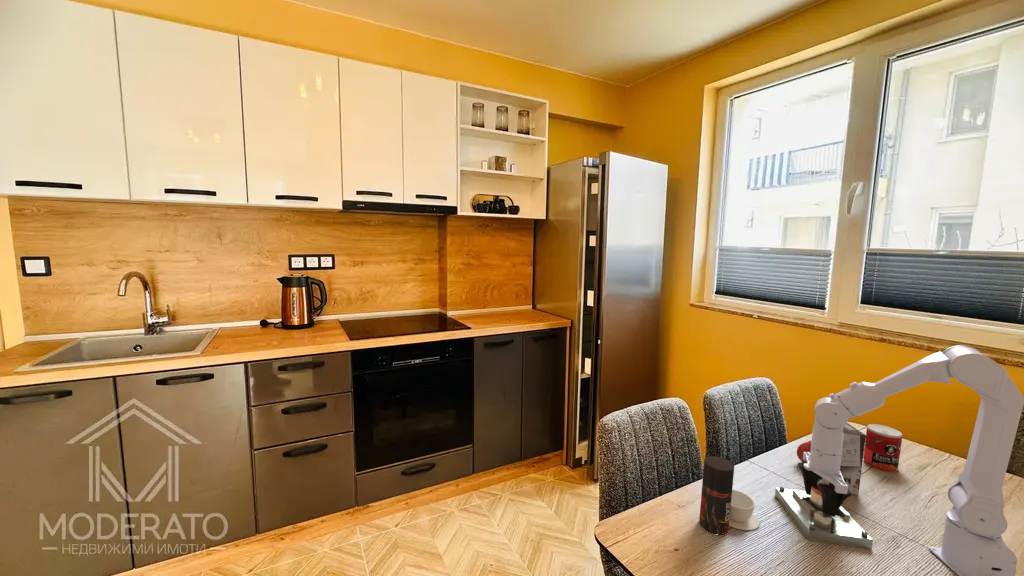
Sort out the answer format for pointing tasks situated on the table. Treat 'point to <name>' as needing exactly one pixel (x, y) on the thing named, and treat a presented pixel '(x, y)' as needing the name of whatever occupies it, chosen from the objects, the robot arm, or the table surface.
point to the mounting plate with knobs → (822, 521)
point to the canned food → (882, 447)
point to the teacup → (742, 512)
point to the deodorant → (716, 495)
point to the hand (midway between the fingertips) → (819, 504)
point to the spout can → (816, 497)
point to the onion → (803, 449)
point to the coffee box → (851, 458)
